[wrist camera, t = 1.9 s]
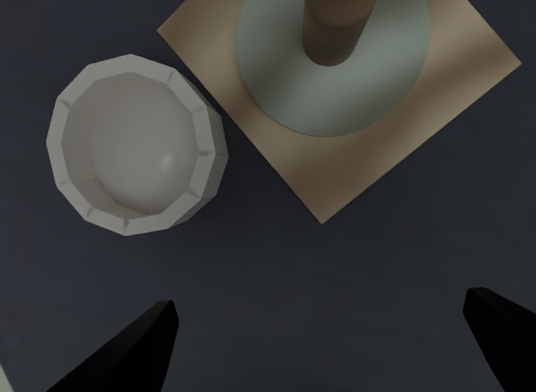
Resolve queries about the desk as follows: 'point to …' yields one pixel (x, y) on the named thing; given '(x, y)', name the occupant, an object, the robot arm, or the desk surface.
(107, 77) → the bowl
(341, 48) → the lid
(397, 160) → the mat
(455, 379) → the desk surface
